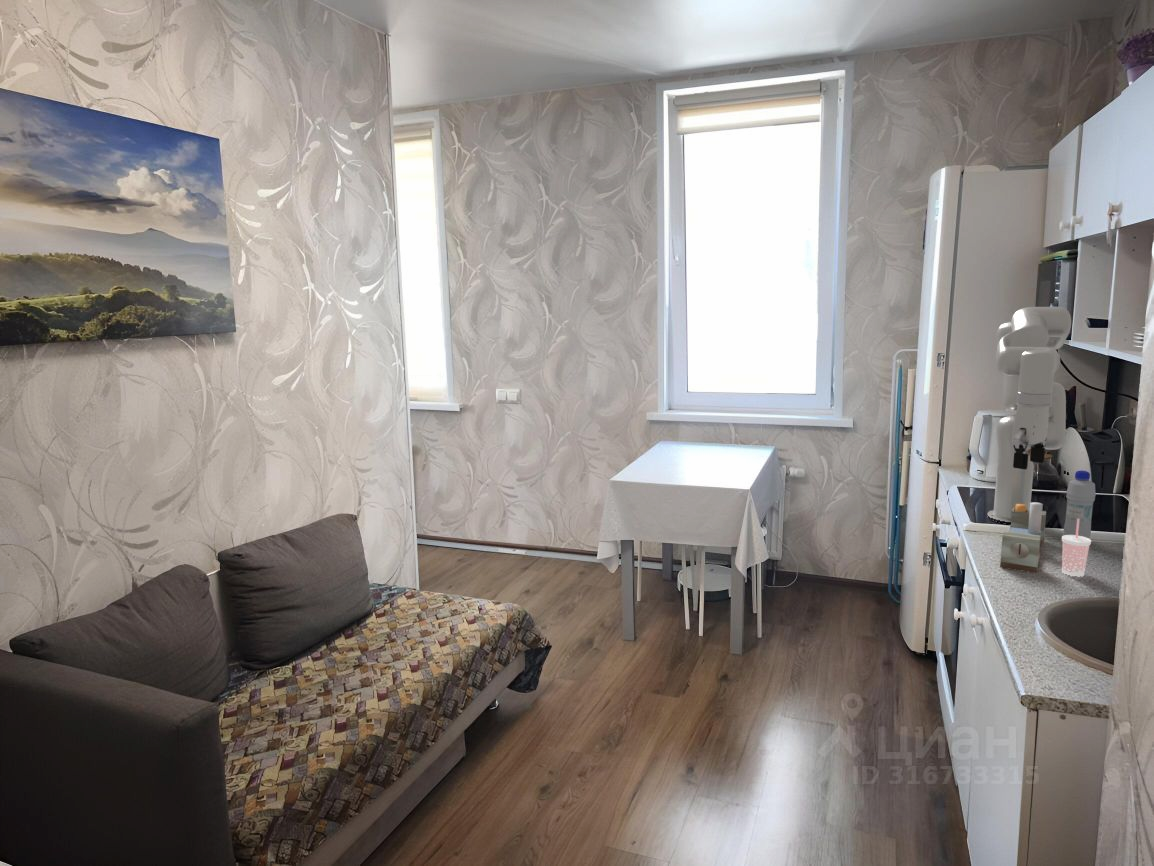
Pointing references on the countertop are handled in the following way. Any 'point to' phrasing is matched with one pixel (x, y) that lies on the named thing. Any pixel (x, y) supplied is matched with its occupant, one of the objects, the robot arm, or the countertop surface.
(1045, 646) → the countertop surface
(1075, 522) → the bottle
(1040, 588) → the countertop surface
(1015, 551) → the rail stand
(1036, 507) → the carriage
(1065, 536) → the beverage cup
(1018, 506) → the button
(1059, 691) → the countertop surface
